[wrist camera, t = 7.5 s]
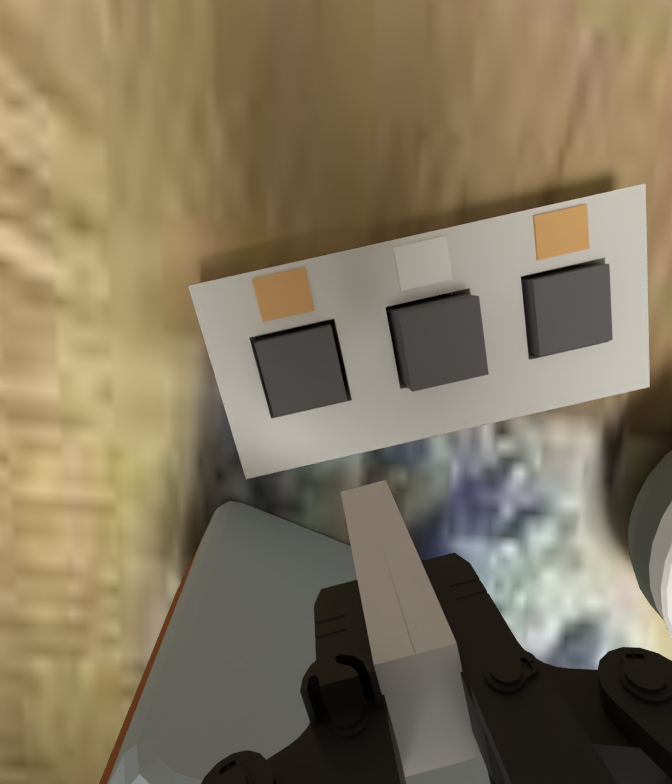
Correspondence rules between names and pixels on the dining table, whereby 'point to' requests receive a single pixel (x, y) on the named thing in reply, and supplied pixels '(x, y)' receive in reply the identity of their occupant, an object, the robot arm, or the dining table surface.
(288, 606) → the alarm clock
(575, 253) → the board
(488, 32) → the dining table surface
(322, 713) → the robot arm
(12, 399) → the dining table surface
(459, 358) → the button middle
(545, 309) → the button
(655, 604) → the bowl
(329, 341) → the button
